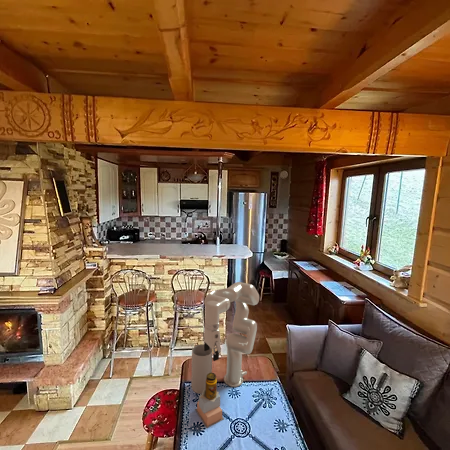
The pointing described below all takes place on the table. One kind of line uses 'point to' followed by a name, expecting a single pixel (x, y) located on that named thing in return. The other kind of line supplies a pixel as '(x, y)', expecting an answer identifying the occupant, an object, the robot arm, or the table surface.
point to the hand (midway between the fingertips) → (211, 354)
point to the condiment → (210, 388)
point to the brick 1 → (209, 404)
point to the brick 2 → (210, 415)
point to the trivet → (204, 421)
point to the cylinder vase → (200, 367)
